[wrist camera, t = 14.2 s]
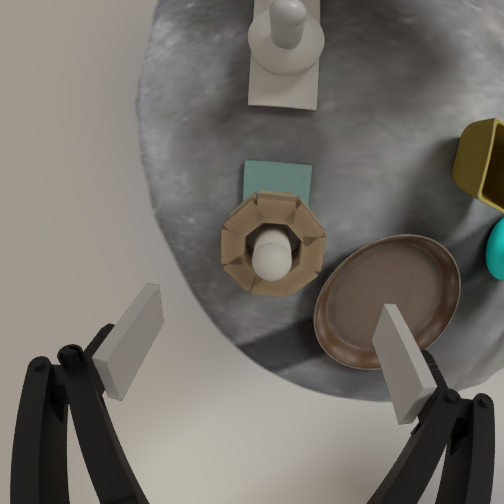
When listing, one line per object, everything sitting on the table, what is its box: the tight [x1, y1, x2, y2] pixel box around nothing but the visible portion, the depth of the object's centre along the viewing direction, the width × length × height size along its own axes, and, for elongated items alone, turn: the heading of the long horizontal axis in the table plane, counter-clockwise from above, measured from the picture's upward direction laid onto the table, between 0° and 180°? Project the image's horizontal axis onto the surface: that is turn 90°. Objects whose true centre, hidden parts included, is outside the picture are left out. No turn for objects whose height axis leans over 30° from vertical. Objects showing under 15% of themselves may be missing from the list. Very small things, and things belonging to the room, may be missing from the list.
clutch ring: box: [221, 190, 326, 297], centre depth 27 cm, size 9×9×4 cm
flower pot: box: [452, 118, 504, 213], centre depth 23 cm, size 9×9×9 cm
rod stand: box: [248, 0, 325, 111], centre depth 20 cm, size 14×7×11 cm, turn 177°
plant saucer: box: [314, 234, 461, 370], centre depth 34 cm, size 21×21×3 cm
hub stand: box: [243, 160, 312, 281], centre depth 27 cm, size 14×7×12 cm, turn 177°
